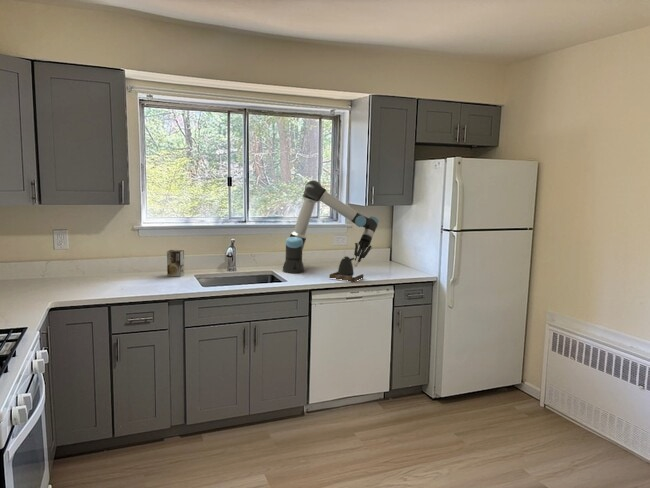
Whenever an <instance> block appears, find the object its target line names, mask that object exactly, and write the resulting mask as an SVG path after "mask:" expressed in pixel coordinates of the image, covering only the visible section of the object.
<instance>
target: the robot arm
mask: <svg viewBox="0 0 650 488" xmlns="http://www.w3.org/2000/svg"><path fill="white" fill-rule="evenodd" d="M302 194H303V195H302V199H303V201H302V205H301V206H300V207H301V208H300V209H299V214H298V217H297V220H296V223H295V226H294V229H293V231H292V232H290V234H289V235H290V236H289V237H287V238H286V240H285V260H284V263H283V265H282V272H283V271H284V272H283V273H287V272H288V274H301V273H300V272H302V273H304V272H305V265H304V263H303V249H304V247H305V243H306V239H307V235H306V233H307V230H308V227H309V224H310V221H311V218H312V214H313V211H314V209H315V205H316V203H319V202H320V203H322V204H323V205H325V206H327V207H329V208H330V209H332V210H333V211H334V212H336V213H338V214H340V216H343V217H344V218H345V219H347V220H348V221H350V222H351V223H353V224H355V225H356V227H359V228H362V227H363V229H364V230H363V233H362V235H361V237H360V239H359V242H355V243H354V245H355V248H354V254H353V256H355V257H354V263H353V264H354V265H353V266H354V267H358V265H359V263H360V262H361V261H362V259H365V258H366V257H367V255H368V253H370V251H371V250H372V249H373V246H372V245H371V242H372V239H373V238H374V236H375V232H376V229H377V228H378V225H379V222H380V221H379V219H378V218H377V217H376V216H373V215H372V216H369V217H367V216H365V215H363V214H361V213H359V212H357V211H356V210H355V209H353V208H352V207H350V206H348V205H347V204H346V203H344V202H343V201H342V200H340V199H338V198H337V197H336V196H334V195H332V194H331V193H329V192H328V190H327V189H326V188H325V187H324V186H322V184H321V183H320V182H319V181H317V180H310V181H308V182H307V183H305V186H304V190H303V193H302Z"/></svg>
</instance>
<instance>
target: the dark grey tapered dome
mask: <svg viewBox="0 0 650 488" xmlns="http://www.w3.org/2000/svg"><path fill="white" fill-rule="evenodd" d="M352 261H355V257H352V258H350V257H349V256H346V255H345V256H343V257H342V259H341V260H340V263H339V264H338V265H339V266H338V270H337V272H338V274H339V275H340V276H347V277H353V276H354V265H353V263H352Z"/></svg>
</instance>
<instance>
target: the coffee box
mask: <svg viewBox="0 0 650 488" xmlns="http://www.w3.org/2000/svg"><path fill="white" fill-rule="evenodd" d="M166 262H167V263H166V269H167V273H166V276H167V277H183V276H185V250H182V249H181V250H180V249H170V250H167V251H166Z"/></svg>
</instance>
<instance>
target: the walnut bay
mask: <svg viewBox="0 0 650 488" xmlns="http://www.w3.org/2000/svg"><path fill="white" fill-rule="evenodd" d="M328 278H336V279H342V280H348V281H353V282H352V283H356V282H355V281H357V280H359V279H361V278H363V279H364V274H360V275H357V276H355V277H353V276H352V277H347V276H340V275H339V274H338V271H335V272H333V273H329V277H328ZM359 281H360V280H359ZM357 282H358V281H357Z"/></svg>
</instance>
